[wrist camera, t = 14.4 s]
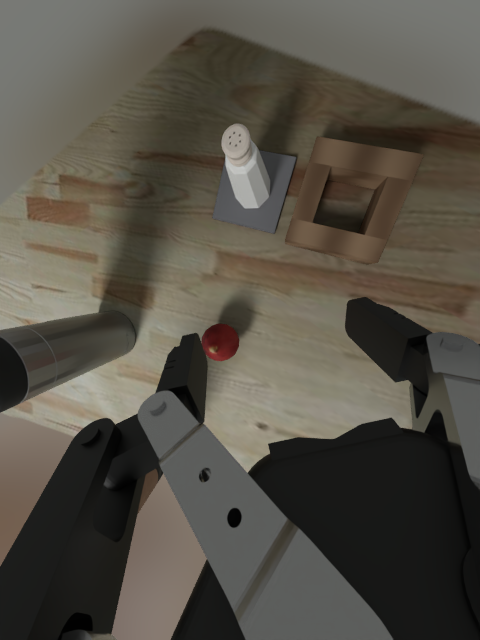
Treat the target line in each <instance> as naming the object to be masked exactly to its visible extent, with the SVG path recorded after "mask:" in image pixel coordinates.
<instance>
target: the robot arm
mask: <svg viewBox="0 0 480 640" xmlns="http://www.w3.org/2000/svg"><path fill="white" fill-rule="evenodd" d="M345 329H346V332H347V334H348V336H349V337H350V338H351V339H352V340H353V341H354V342H355V343H356V344H357V345H358V346H359V347H360V348H361V349H362V350H363V351H364V352H365V353H366V354H367V355H368V356H369V357H370V358H371V359H372V360H373V361H374V362H375V363H376V364H377V365H378V366H379V367H380V368H381V369H382V370H383V371H384V372H385V373H386V374H387V375H388V376H389V377H390V378H391V379H392V380H393V381H395V382H400V381H405V380H409V381H410V382H411V384H410V387H409V392H410V403H411V414H412V429H405V428H400V427H399V426H398V425H397V423H396V422H395V421H394V420H393V419H392V418H388V419H383V420H379V421H374V422H369V423H364V424H361V425H359V426H357V427H355V428H354V429H352V430H350V431H348V432H346V433H345V434H343V435H341V436H339V437H338V438H335V439H318V438H300V437H298V438H293V439H289V440H284V441H279V442H274V443H270V444H268V445H269V450H270V454H268V455H267V456H265V457H263V458H262V459H261V460H259V461H258V462H257V463H256V464H255V465H254V466H253V467H252V468H251V469H250V471H249V472H248V473H247V472H246V471H245V470H244V469H243V468H242V466H241V465H240V464H239V463H238V462H237V461H236V460H235V459H234V457H233V456H232V455H231V454H230V453H229V452H228V451H227V449H226V448H225V447H224V446H223V445H222V444H221V443H220V441H219V440H218V439H217V438H216V437H215V436H214V435H213V433H212V432H211V431H210V430H209V429H208V428H207V427H206V426H205V425H204V424H203V422H204V417H205V400H206V383H207V358H206V355H205V352H204V349H203V346H202V344H201V341H200V338H199V335H198V334H197V333H194V334H189V335H184V336H182V339H181V342H180V346H178V347H174V348H173V349H172V351H171V352H170V353H169V354H168V357H167V360H166V364H165V366H164V370H163V372H162V375H161V378H160V381H159V384H158V387H157V390H156V393H155V394H153V395H152V396H150V397H149V398H148V399H147V400H145V401H144V403H143V404H142V405H141V407H140V409H139V411H138V414H136V415H134V416H132V417H130V418H128V419H126V420H124V421H122V422H120V423H118V424H116V425H115V424H114V422H113V421H112V420H111V419H108V418H103V419H99V420H96V421H94V422H92V423H90V424H89V425H87V426H86V427H85V428H83V429H82V430H81V431H80V432H79V433H78V434H77V435H76V436H75V438H74V439H73V440H72V442H71V444H70V445H69V447H68V449H67V450H66V452H65V454H64V456H63V457H62V459H61V461H60V463H59V464H58V466H57V468H56V470H55V472H54V473H53V475H52V477H51V479H50V481H49V482H48V484H47V486H46V487H45V489H44V491H43V493H42V494H41V496H40V498H39V500H38V501H37V503H36V505H35V507H34V508H33V510H32V512H31V514H30V515H29V517H28V519H27V521H26V522H25V524H24V526H23V528H22V530H21V531H20V533H19V535H18V537H17V538H16V540H15V542H14V544H13V545H12V547H11V549H10V551H9V552H8V554H7V556H6V558H5V559H4V561H3V563H2V565H1V566H0V640H117V639H116V638H115V637H114V636H113V635H111V632H112V628H113V624H114V619H115V614H116V610H117V605H118V600H119V596H120V591H121V587H122V582H123V577H124V573H125V568H126V564H127V558H128V555H129V550H130V545H131V541H132V536H133V531H134V527H135V522H136V517H137V513H138V509H139V504H140V499H141V495H142V490H143V485H144V481H145V476H146V474H148V473H149V472H151V471H153V470H154V469H156V468H158V467H161V469H162V471H163V473H164V475H165V477H166V479H167V481H168V483H169V485H170V487H171V489H172V491H173V493H174V495H175V497H176V498H177V501H178V503H179V504H180V506H181V508H182V510H183V512H184V514H185V516H186V518H187V520H188V522H189V524H190V526H191V528H192V530H193V532H194V534H195V536H196V538H197V539H198V542H199V544H200V546H201V548H202V550H203V551H204V553H205V555H206V557H207V560H206V562H205V564H204V567H203V569H202V571H201V574H200V576H199V578H198V580H197V582H196V584H195V587H194V589H193V591H192V594H191V596H190V598H189V600H188V602H187V604H186V607H185V609H184V611H183V614H182V616H181V618H180V620H179V622H178V625H177V627H176V629H175V631H174V633H173V636H172V638H171V640H480V344H477V343H476V342H475V341H473V340H471V339H469V338H467V337H464V336H462V335H458V334H454V333H447V332H437V333H432V332H430V331H429V330H427V329H425V328H424V327H422V326H420V325H418V324H417V323H415V322H413V321H412V320H410V319H408V318H406V317H405V316H403V315H401V314H398V312H396V311H395V310H393V309H391V308H389V307H386V306H383V305H380V304H377V303H375V302H373V301H372V300H370V299H368V298H367V297H362V298H357V299H353V300H349V301H348V303H347V310H346V321H345ZM134 344H135V331H134V328H133V326H132V324H131V322H130V321H129V320H128V318H127V317H125V316H124V315H123V314H121V313H119V312H116V311H107V312H101V313H93V314H87V315H81V316H75V317H70V318H64V319H58V320H52V321H47V322H43V323H37V324H32V325H26V326H20V327H15V328H9V329H3V330H0V412H3V411H5V410H7V409H9V408H11V407H13V406H16V405H18V404H20V403H22V402H24V401H26V400H28V399H30V398H33V397H35V396H37V395H39V394H41V393H43V392H45V391H47V390H50V389H52V388H54V387H56V386H58V385H60V384H63V383H65V382H67V381H69V380H71V379H73V378H76V377H78V376H80V375H82V374H84V373H86V372H89V371H91V370H93V369H95V368H97V367H99V366H102V365H104V364H106V363H108V362H110V361H112V360H115V359H117V358H119V357H121V356H123V355H125V354H127V353H129V352H130V351H131V350H132V348H133V346H134Z"/></svg>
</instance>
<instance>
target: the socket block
mask: <svg viewBox="0 0 480 640" xmlns="http://www.w3.org/2000/svg"><path fill="white" fill-rule="evenodd" d="M423 156H424V154H419V153H413V152H407V151H401V150H395V149H389V148H383V147H377V146H371V145H365V144H359V143H353V142H347V141H341V140H335V139H329V138H323V137H317V138H316V141H315V144H314V147H313V151H312V154H311V157H310V160H309V164H308V167H307V170H306V173H305V177H304V180H303V183H302V186H301V190H300V193H299V196H298V200H297V203H296V206H295V209H294V213H293V216H292V219H291V222H290V226H289V229H288V232H287V235H286V239H285V244H288V245H292V246H296V247H300V248H304V249H308V250H312V251H316V252H320V253H324V254H327V255H331V256H335V257H339V258H343V259H347V260H351V261H355V262H359V263H363V264H372V263H377V262H379V259H380V257H381V254H382V252H383V250H384V247H385V245H386V243H387V240H388V238H389V236H390V233H391V231H392V229H393V226H394V224H395V222H396V219H397V217H398V215H399V212H400V210H401V208H402V205H403V203H404V201H405V198H406V196H407V194H408V191H409V189H410V187H411V184H412V182H413V180H414V177H415V175H416V173H417V170H418V168H419V166H420V163H421V161H422V159H423ZM326 180H330V181H335V182H340V183H345V184H350V185H355V186H360V187H365V188H370V189H375V191H374V194H373V196H372V199H371V201H370V204H369V206H368V209H367V212H366V214H365V217H364V219H363V222H362V224H361V227H360V230H359V232H358V233H354V232H350V231H345V230H341V229H337V228H332V227H328V226H324V225H319V224H315V223H312V222H313V219H314V216H315V213H316V210H317V207H318V204H319V201H320V198H321V195H322V192H323V189H324V186H325V183H326Z"/></svg>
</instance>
